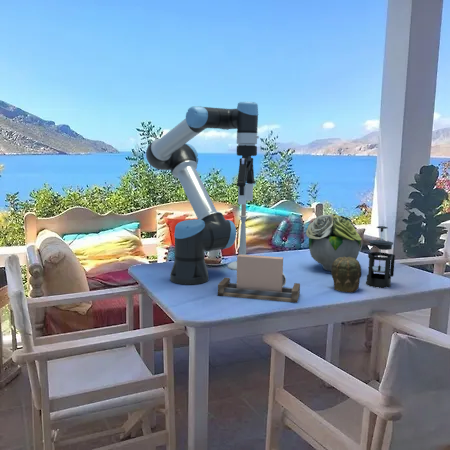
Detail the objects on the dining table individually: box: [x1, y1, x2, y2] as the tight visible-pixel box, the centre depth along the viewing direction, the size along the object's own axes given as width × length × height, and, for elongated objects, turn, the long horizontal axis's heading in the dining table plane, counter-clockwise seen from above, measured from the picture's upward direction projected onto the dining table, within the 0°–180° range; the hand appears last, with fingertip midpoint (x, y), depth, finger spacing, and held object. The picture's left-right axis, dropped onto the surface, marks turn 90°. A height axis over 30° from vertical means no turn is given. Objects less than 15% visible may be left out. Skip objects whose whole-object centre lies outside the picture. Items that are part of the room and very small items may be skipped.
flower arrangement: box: [305, 213, 363, 272], centre depth 208 cm, size 25×25×24 cm
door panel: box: [236, 253, 284, 292], centre depth 171 cm, size 16×3×13 cm, turn 76°
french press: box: [365, 225, 396, 289], centre depth 186 cm, size 12×9×23 cm
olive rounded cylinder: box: [330, 257, 362, 293], centre depth 180 cm, size 11×11×12 cm
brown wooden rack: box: [217, 277, 301, 304], centre depth 171 cm, size 28×10×4 cm, turn 76°
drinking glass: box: [282, 272, 287, 288], centre depth 185 cm, size 7×7×15 cm
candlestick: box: [227, 204, 248, 272], centre depth 209 cm, size 13×13×30 cm
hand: (245, 202), depth 180 cm, fingers open, 13 cm apart
